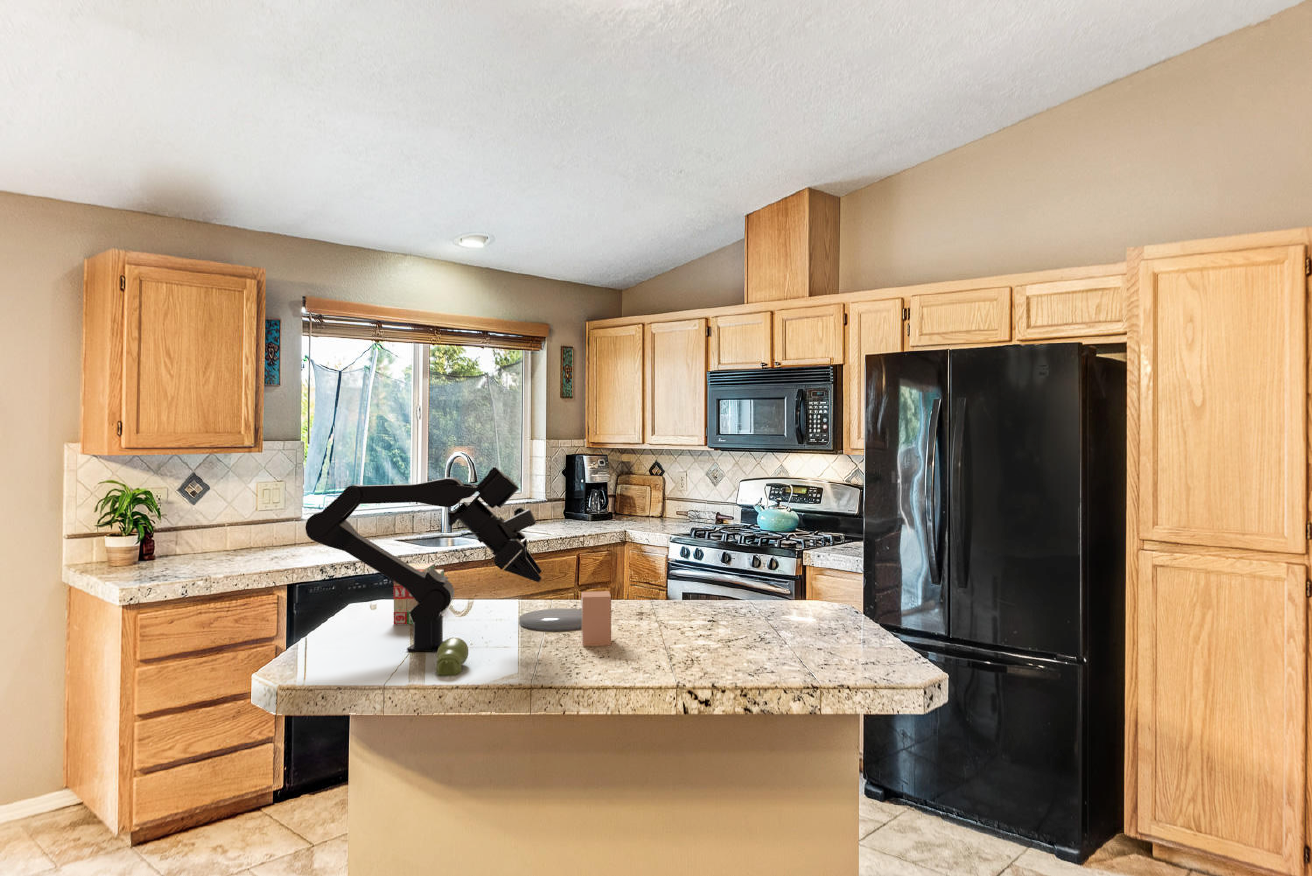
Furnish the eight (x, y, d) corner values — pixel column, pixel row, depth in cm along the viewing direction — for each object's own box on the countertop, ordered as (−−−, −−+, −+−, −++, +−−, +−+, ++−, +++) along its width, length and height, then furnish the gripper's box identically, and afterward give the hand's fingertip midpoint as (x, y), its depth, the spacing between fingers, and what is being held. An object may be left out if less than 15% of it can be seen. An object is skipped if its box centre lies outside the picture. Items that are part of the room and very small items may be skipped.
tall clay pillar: (611, 645, 172) (611, 596, 172) (582, 646, 171) (582, 597, 171) (609, 638, 177) (608, 591, 177) (581, 639, 177) (581, 592, 177)
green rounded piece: (470, 633, 159) (461, 655, 149) (471, 659, 160) (462, 683, 150) (440, 633, 159) (429, 656, 149) (441, 659, 160) (430, 684, 150)
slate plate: (590, 631, 183) (590, 626, 183) (509, 630, 185) (509, 624, 185) (604, 614, 201) (604, 609, 201) (530, 612, 203) (530, 607, 203)
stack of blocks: (420, 606, 212) (420, 557, 212) (445, 606, 212) (445, 557, 212) (393, 625, 191) (393, 571, 191) (420, 625, 191) (420, 571, 191)
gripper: (510, 499, 163) (568, 554, 164) (513, 492, 181) (566, 542, 183) (469, 541, 162) (528, 596, 163) (477, 530, 180) (530, 579, 182)
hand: (540, 576), depth 173 cm, fingers open, 9 cm apart
